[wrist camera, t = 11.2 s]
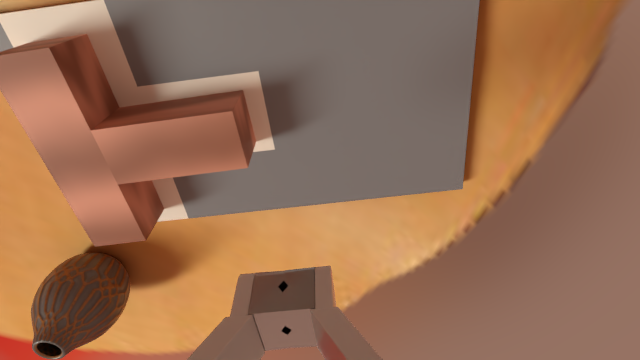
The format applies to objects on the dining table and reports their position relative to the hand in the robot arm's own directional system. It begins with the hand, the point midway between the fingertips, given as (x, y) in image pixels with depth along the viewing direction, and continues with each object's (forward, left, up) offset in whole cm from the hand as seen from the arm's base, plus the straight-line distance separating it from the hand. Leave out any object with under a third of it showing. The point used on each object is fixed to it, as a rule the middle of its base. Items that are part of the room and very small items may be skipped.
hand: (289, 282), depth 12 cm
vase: (+14, -22, -18) cm, 32 cm away
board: (0, -4, -18) cm, 18 cm away
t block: (+1, -10, -17) cm, 20 cm away
